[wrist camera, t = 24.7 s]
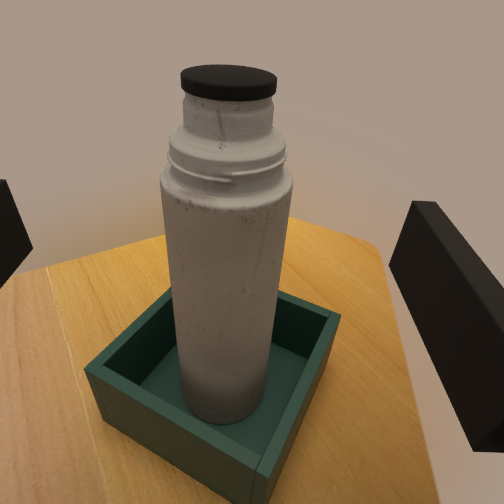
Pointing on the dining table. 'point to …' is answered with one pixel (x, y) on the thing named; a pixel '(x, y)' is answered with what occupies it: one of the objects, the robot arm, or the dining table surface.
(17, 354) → the dining table surface
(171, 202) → the thermos bottle
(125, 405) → the box
